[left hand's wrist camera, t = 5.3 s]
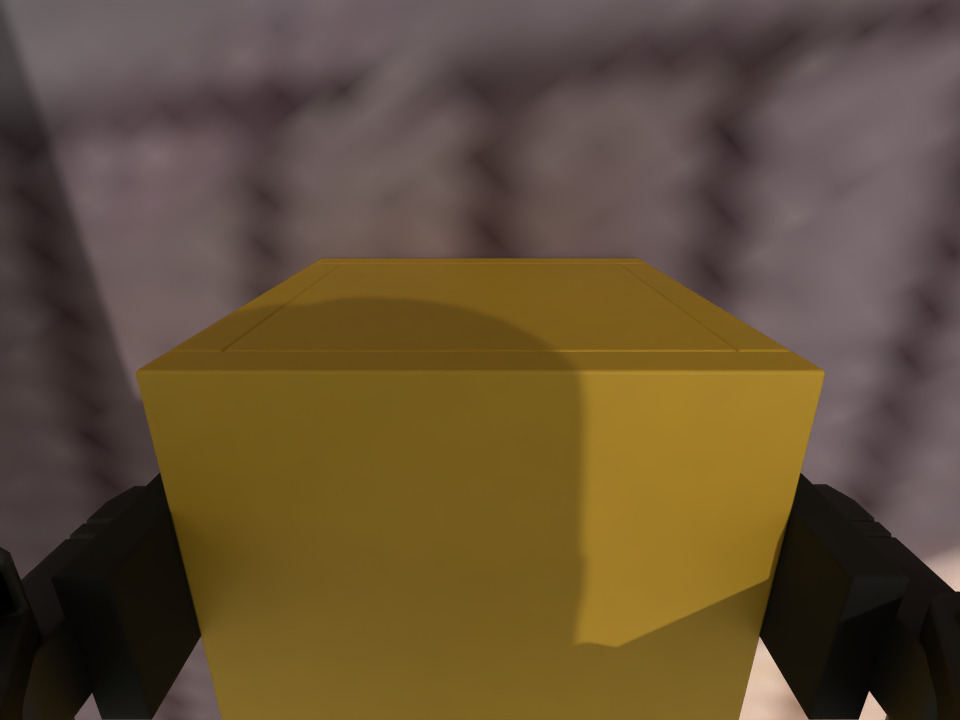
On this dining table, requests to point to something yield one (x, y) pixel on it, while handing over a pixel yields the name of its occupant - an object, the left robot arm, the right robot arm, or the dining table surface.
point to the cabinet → (480, 491)
